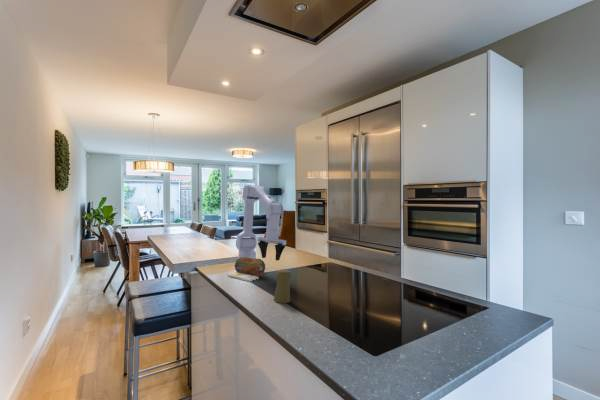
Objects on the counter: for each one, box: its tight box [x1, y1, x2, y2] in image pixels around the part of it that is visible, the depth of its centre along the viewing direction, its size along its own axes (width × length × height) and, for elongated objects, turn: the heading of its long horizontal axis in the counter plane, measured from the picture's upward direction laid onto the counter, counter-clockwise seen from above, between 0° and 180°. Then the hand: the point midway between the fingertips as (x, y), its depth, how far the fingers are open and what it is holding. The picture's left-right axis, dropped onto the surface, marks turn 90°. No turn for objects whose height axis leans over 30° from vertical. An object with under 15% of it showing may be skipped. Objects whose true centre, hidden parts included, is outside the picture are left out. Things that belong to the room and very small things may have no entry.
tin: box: [234, 257, 266, 277], centre depth 142 cm, size 15×3×8 cm, turn 73°
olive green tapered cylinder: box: [273, 268, 292, 304], centre depth 108 cm, size 6×6×11 cm
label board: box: [226, 271, 260, 283], centre depth 137 cm, size 6×13×1 cm, turn 61°
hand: (270, 258), depth 137 cm, fingers open, 7 cm apart
